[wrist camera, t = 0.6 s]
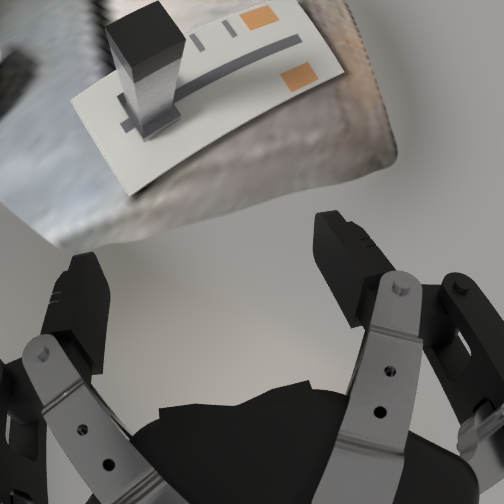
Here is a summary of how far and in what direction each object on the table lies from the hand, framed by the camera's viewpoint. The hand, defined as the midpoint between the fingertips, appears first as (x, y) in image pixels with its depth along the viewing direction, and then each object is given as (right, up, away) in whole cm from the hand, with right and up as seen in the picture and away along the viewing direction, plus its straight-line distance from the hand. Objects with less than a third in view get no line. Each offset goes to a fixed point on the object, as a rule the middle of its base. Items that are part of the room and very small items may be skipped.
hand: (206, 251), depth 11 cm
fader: (-8, +13, +16) cm, 23 cm away
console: (-3, +19, +20) cm, 28 cm away
